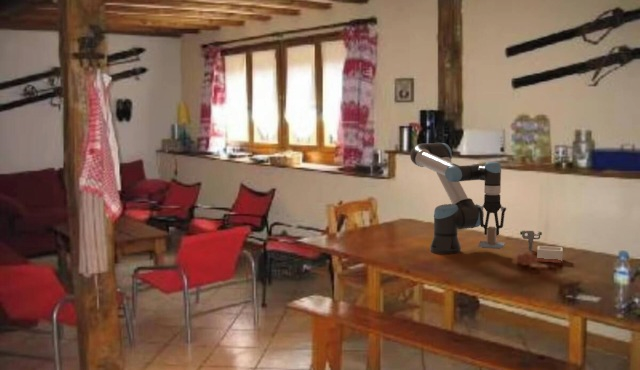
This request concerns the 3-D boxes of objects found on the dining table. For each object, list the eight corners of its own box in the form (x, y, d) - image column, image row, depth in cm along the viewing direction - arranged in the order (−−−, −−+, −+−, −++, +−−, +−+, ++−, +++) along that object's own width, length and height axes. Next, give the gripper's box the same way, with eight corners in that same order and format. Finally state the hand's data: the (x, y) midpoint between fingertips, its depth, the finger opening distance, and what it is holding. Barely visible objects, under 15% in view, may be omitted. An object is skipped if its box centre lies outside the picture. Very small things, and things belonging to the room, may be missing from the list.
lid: (478, 248, 311) (478, 228, 310) (480, 244, 319) (480, 225, 318) (502, 249, 307) (503, 229, 305) (504, 246, 315) (504, 226, 313)
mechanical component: (541, 251, 321) (542, 232, 320) (520, 251, 323) (520, 231, 322) (540, 250, 324) (541, 230, 322) (519, 249, 326) (520, 230, 324)
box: (536, 261, 301) (537, 249, 300) (537, 258, 308) (538, 245, 308) (561, 263, 297) (562, 251, 296) (562, 259, 304) (562, 247, 304)
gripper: (474, 194, 309) (473, 242, 312) (509, 195, 303) (508, 244, 306) (476, 192, 316) (475, 239, 319) (510, 193, 310) (509, 241, 313)
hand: (491, 241), depth 312 cm, fingers closed on lid, 3 cm apart
